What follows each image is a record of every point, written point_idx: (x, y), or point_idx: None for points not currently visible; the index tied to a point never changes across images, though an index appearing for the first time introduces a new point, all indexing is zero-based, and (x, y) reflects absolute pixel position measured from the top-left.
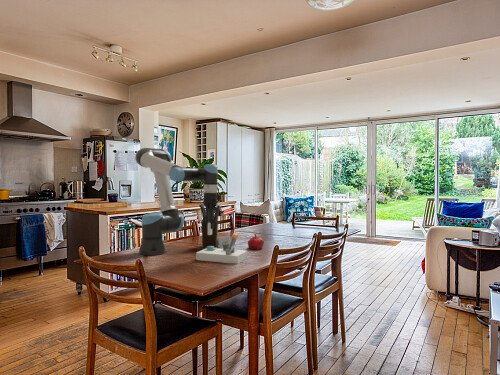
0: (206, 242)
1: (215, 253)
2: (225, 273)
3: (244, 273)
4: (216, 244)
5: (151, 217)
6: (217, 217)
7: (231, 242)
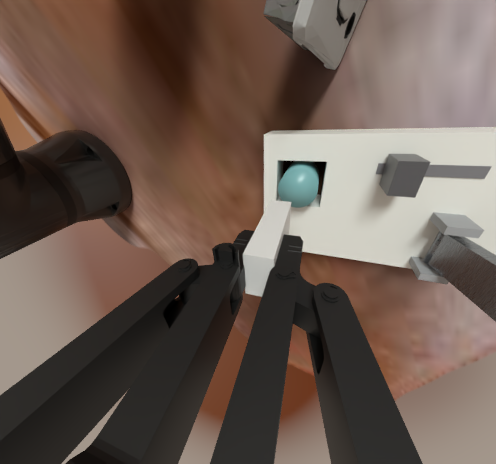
0: None
1: (349, 248)
2: (416, 344)
3: (490, 350)
4: (283, 31)
5: None
6: (370, 367)
7: (481, 304)
